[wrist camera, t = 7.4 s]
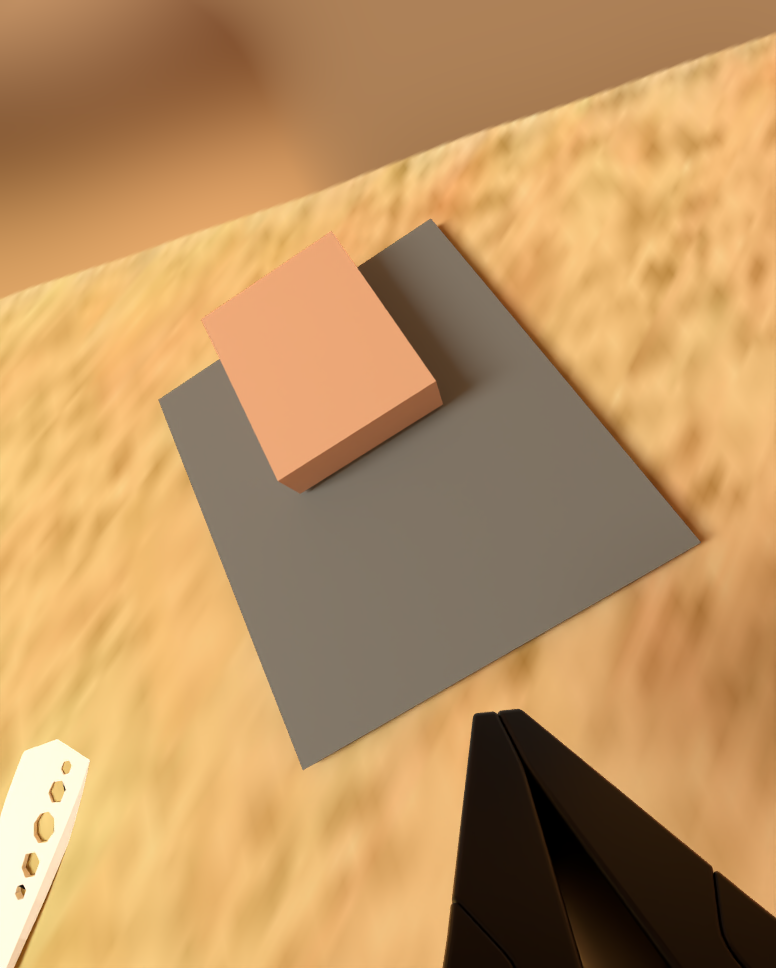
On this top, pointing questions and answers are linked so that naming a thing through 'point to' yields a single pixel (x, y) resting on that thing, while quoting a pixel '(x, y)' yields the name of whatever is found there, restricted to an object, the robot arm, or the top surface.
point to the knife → (34, 838)
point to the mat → (422, 514)
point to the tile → (319, 364)
